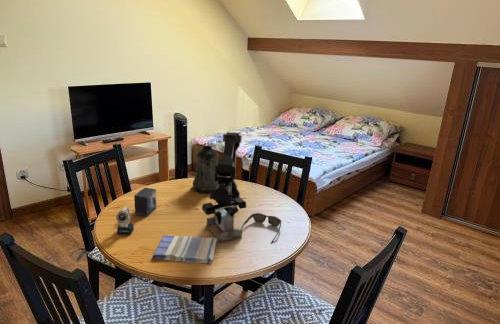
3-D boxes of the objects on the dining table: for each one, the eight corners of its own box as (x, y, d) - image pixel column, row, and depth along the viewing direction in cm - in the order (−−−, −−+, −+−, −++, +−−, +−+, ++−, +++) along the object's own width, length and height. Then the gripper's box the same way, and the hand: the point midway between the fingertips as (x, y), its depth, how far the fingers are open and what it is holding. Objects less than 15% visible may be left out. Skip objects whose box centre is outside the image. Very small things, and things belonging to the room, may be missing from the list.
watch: (116, 236, 145) (114, 213, 142) (122, 227, 153) (120, 204, 149) (129, 237, 145) (127, 213, 142) (135, 227, 153) (133, 205, 149)
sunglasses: (283, 227, 161) (284, 218, 159) (273, 248, 146) (273, 239, 144) (250, 219, 166) (250, 210, 164) (237, 240, 151) (237, 230, 149)
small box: (147, 217, 162) (146, 197, 159) (134, 215, 163) (133, 195, 160) (157, 208, 172) (156, 188, 169) (145, 206, 173) (144, 187, 170)
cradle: (226, 221, 162) (227, 214, 161) (241, 237, 149) (242, 229, 148) (206, 225, 158) (206, 217, 156) (220, 242, 145) (220, 234, 143)
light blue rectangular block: (223, 220, 158) (223, 208, 156) (233, 231, 149) (233, 218, 147) (215, 221, 156) (215, 209, 154) (224, 233, 147) (225, 220, 145)
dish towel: (212, 265, 130) (212, 259, 129) (150, 261, 131) (150, 254, 130) (218, 241, 147) (219, 235, 146) (164, 237, 148) (163, 231, 147)
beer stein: (212, 181, 210) (213, 141, 202) (229, 192, 195) (231, 150, 187) (187, 186, 200) (187, 144, 192) (203, 198, 185) (204, 154, 178)
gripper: (236, 181, 158) (235, 211, 163) (197, 186, 150) (197, 219, 155) (247, 190, 149) (246, 222, 154) (206, 196, 140) (206, 230, 145)
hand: (223, 223), depth 152 cm, fingers closed on light blue rectangular block, 4 cm apart
